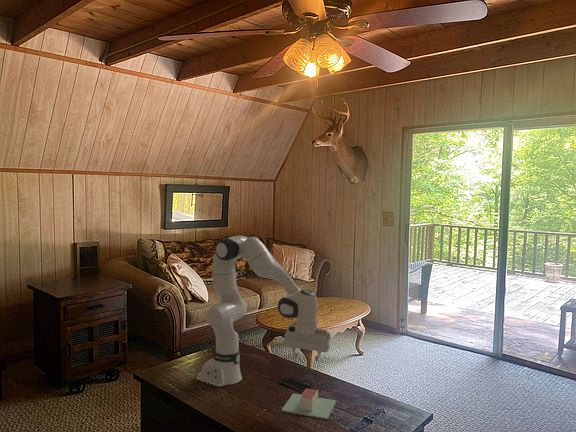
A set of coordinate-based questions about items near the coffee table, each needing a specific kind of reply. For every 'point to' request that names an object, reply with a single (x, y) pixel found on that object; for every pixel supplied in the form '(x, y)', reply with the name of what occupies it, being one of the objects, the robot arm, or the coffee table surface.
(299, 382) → the phone
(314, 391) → the card case
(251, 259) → the robot arm
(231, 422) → the coffee table surface
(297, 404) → the mat
